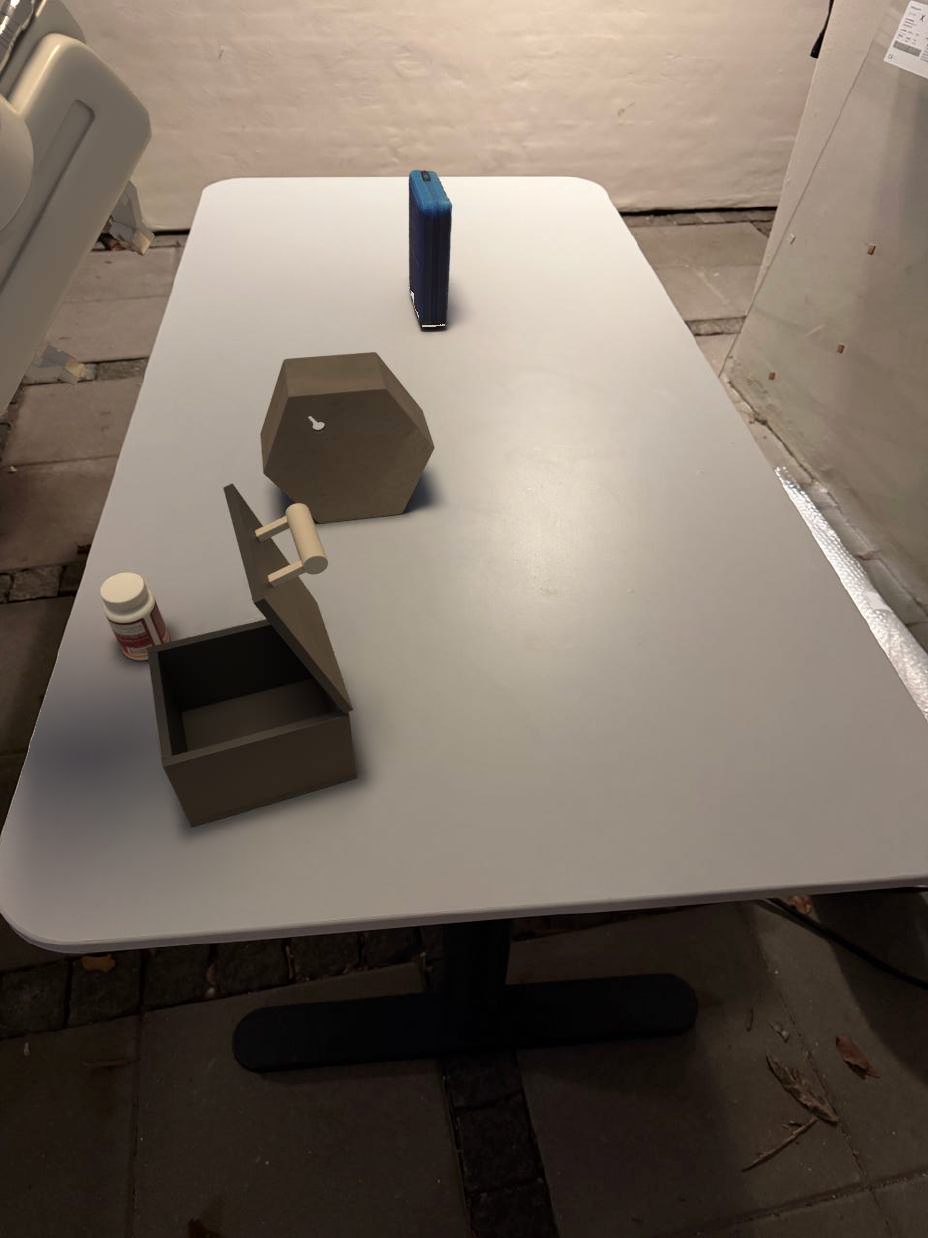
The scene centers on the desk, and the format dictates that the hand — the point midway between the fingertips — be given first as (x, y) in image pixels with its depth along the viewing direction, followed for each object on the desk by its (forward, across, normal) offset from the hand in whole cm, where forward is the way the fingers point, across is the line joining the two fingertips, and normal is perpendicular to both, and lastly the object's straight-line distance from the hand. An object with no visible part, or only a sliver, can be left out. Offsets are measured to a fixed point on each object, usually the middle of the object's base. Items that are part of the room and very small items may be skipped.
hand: (107, 307), depth 49 cm
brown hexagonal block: (+48, -2, 0) cm, 48 cm away
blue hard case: (+77, -40, -15) cm, 88 cm away
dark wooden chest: (+27, +25, +13) cm, 39 cm away
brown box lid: (+14, +12, +14) cm, 23 cm away
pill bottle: (+31, +23, -5) cm, 39 cm away
